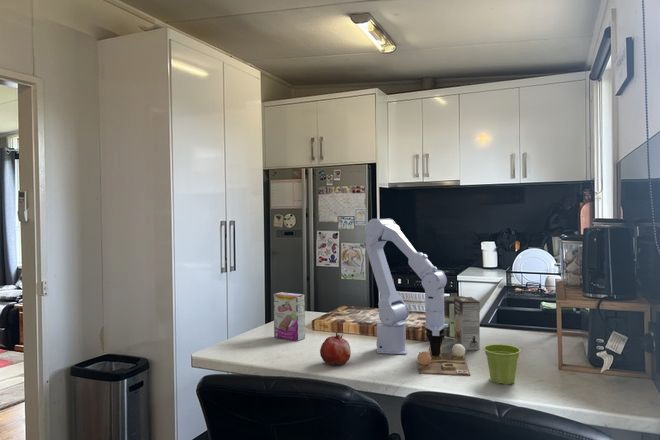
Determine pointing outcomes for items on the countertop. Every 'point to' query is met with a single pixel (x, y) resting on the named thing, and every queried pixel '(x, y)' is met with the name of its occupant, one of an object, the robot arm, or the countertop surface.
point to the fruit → (335, 350)
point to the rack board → (445, 365)
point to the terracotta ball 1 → (424, 358)
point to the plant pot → (502, 362)
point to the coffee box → (467, 322)
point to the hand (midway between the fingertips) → (435, 353)
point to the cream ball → (458, 350)
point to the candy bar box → (289, 316)
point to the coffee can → (449, 316)
